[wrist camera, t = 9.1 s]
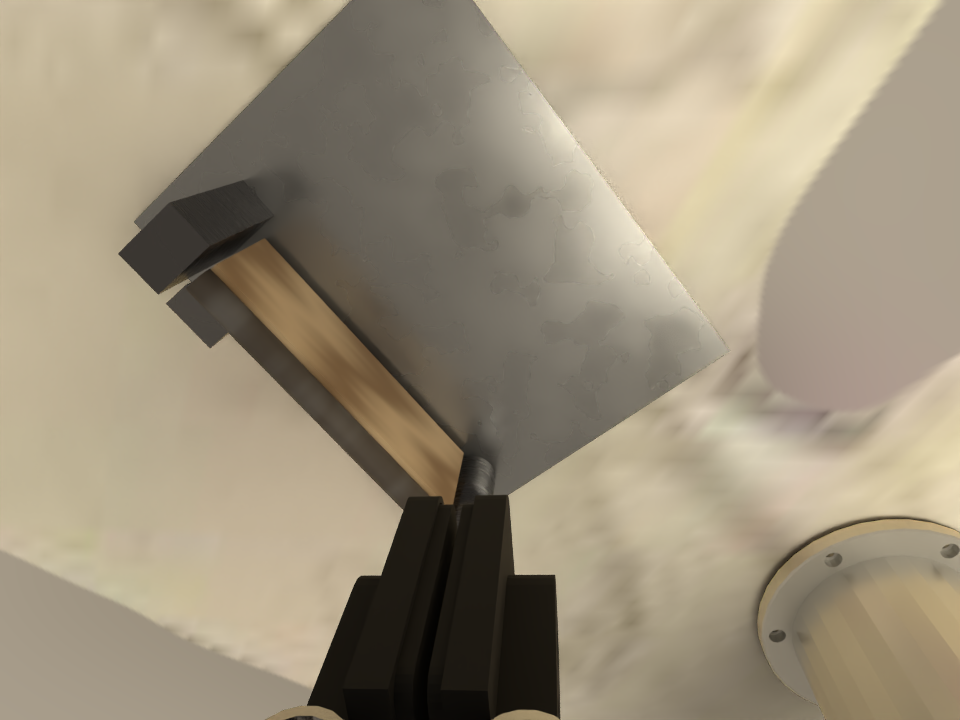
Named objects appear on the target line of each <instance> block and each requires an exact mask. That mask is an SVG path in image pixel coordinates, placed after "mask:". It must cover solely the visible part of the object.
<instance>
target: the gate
mask: <svg viewBox="0 0 960 720" xmlns="http://www.w3.org/2000/svg"><path fill="white" fill-rule="evenodd" d="M186 290H187V291H188V292H189V293H190V294H191V295H192V296H193V297H194V298H195V299H196V300H197V301H198V302H199V303H200V304H201V305H202V306H203V307H204V308H205V309H206V310H207V311H208V312H209V313H210V314H211V315H212V316H213V317H214V319H215V320H216V321H217V322H218V323H219V324H220V325H221V326H222V327H223V328H224V329H225V330H226V331H227V332H228V333H229V334H230V335H231V336H232V337H233V338H234V339H235V340H236V341H237V342H238V343H239V344H240V345H241V346H242V347H243V348H244V349H245V350H246V351H247V352H248V353H249V354H250V355H251V356H252V357H253V358H254V359H255V360H256V361H257V362H258V363H259V364H260V365H261V366H262V367H263V368H264V369H265V370H266V371H267V372H268V373H269V374H270V375H271V376H272V377H273V378H274V379H275V380H276V381H277V382H278V383H279V384H280V385H281V386H282V388H283V389H284V390H285V391H286V392H287V393H288V394H289V395H290V396H291V397H292V398H293V399H294V400H295V401H296V402H297V403H298V404H299V405H300V406H301V407H302V408H303V409H304V410H305V411H306V412H307V413H308V414H309V415H310V416H311V417H312V418H313V419H314V420H315V421H316V422H317V423H318V424H319V425H320V426H321V427H322V428H323V429H324V430H325V431H326V432H327V433H328V434H329V435H330V436H331V437H332V438H333V439H334V440H335V441H336V442H337V443H338V444H339V445H340V446H341V447H342V448H343V449H344V450H345V451H346V452H347V453H348V454H349V456H350V457H351V458H352V459H353V460H354V461H355V462H356V463H357V464H358V465H359V466H360V467H361V468H362V469H363V470H364V471H365V472H366V473H367V474H368V475H369V476H370V477H371V478H372V479H373V480H374V481H375V482H376V483H377V484H378V485H379V486H380V487H381V488H382V489H383V490H384V491H385V492H386V493H387V494H388V495H389V496H390V497H391V498H392V499H393V500H394V501H395V502H396V503H397V504H398V505H399V506H400V507H401V508H402V509H403V510H404V508H405V505H406V502H407V500H408V498H409V497H410V496H442V498H443V501H444V505H446V504H453V502H454V497H455V493H456V488H457V483H458V478H459V473H460V469H461V464H462V459H463V454H464V453H463V452H462V451H461V449H460V448H459V447H458V446H457V445H456V444H455V443H454V442H453V441H452V440H451V439H450V438H449V437H448V435H447V434H446V433H445V432H444V431H443V430H442V429H441V428H440V427H439V426H438V425H437V424H436V422H435V421H434V420H433V419H432V418H431V417H430V416H429V415H428V414H427V413H426V412H425V411H424V410H423V408H422V407H421V406H420V405H419V404H418V403H417V402H416V401H415V400H414V399H413V398H412V397H411V395H410V394H409V393H408V392H407V391H406V390H405V389H404V388H403V387H402V386H401V385H400V384H399V383H398V381H397V380H396V379H395V378H394V377H393V376H392V375H391V374H390V373H389V372H388V371H387V370H386V369H385V367H384V366H383V365H382V364H381V363H380V362H379V361H378V360H377V359H376V358H375V357H374V356H373V354H372V353H371V352H370V351H369V350H368V349H367V348H366V347H365V346H364V345H363V344H362V343H361V342H360V340H359V339H358V338H357V337H356V336H355V335H354V334H353V333H352V332H351V331H350V330H349V329H348V327H347V326H346V325H345V324H344V323H343V322H342V321H341V320H340V319H339V318H338V317H337V316H336V315H335V313H334V312H333V311H332V310H331V309H330V308H329V307H328V306H327V305H326V304H325V303H324V302H323V301H322V299H321V298H320V297H319V296H318V295H317V294H316V293H315V292H314V291H313V290H312V289H311V288H310V286H309V285H308V284H307V283H306V282H305V281H304V280H303V279H302V278H301V277H300V276H299V275H298V274H297V272H296V271H295V270H294V269H293V268H292V267H291V266H290V265H289V264H288V263H287V262H286V261H285V259H284V258H283V257H282V256H281V255H280V254H279V253H278V252H277V251H276V250H275V249H274V248H273V247H272V245H271V244H270V243H269V242H268V241H267V240H266V239H265V238H264V239H262V240H260V241H259V242H257V243H255V244H253V245H251V246H249V247H247V248H246V249H244V250H242V251H240V252H238V253H236V254H234V255H233V256H231V257H229V258H227V259H225V260H223V261H221V262H220V263H218V264H216V265H215V266H214V267H213V268H211V269H208V270H207V271H205V272H204V273H202V274H201V275H200V276H199V277H197V278H196V279H195V280H194V281H193V282H192V283H191V284H190V285H189V286H188V287H187V288H186Z"/></svg>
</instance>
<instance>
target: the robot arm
mask: <svg viewBox="0 0 960 720" xmlns="http://www.w3.org/2000/svg"><path fill="white" fill-rule="evenodd" d="M757 625H758V637H759V640H760V643H761V646H762V649H763V651H764V654H765V657H766V659H767V661H768V663H769V665H770V667H771V669H772V671H773V672H774V673H775V675H776V676H777V677H778V678H779V679H780V681H781V682H782V683H783V684H784V685H785V686H786V687H788V688H789V689H790V690H791V691H793V692H794V693H795V694H797V695H798V696H799V697H801V698H803V699H805V700H807V701H809V702H811V703H813V704H815V705H818V706H819V707H820V709H821V711H822V713H823V715H824V718H825V720H960V533H959V532H958V531H956V530H953V529H950V528H947V527H944V526H941V525H938V524H935V523H931V522H924V521H917V520H911V519H886V520H878V521H872V522H865V523H859V524H856V525H853V526H849V527H846V528H843V529H840V530H837V531H834V532H832V533H830V534H828V535H826V536H824V537H822V538H819V539H817V540H815V541H813V542H812V543H810V544H809V545H807V546H806V547H805V548H803V549H802V550H800V551H799V552H797V553H796V554H794V555H793V556H792V557H791V558H790V559H789V560H788V561H787V562H786V563H785V564H784V565H783V566H782V567H781V568H780V569H779V570H778V572H777V573H776V574H775V576H774V577H773V579H772V580H771V582H770V583H769V584H768V586H767V588H766V590H765V593H764V595H763V597H762V600H761V602H760V606H759V612H758V618H757ZM265 720H560V684H559V647H558V620H557V598H556V579H555V575H515V574H514V560H513V547H512V533H511V520H510V506H509V498H508V495H476V496H475V499H474V504H463V506H462V510H461V515H460V520H459V525H458V528H457V519H456V511H455V506H454V504H446V505H444V501H443V498H442V496H410V497H409V498H408V500H407V502H406V505H405V508H404V511H403V514H402V517H401V519H400V522H399V525H398V528H397V531H396V534H395V537H394V540H393V543H392V546H391V549H390V551H389V554H388V557H387V560H386V563H385V566H384V569H383V572H382V575H381V576H360V577H359V578H358V579H357V581H356V583H355V584H354V587H353V589H352V592H351V594H350V597H349V600H348V602H347V605H346V607H345V610H344V612H343V615H342V617H341V620H340V622H339V625H338V628H337V630H336V633H335V635H334V638H333V640H332V643H331V645H330V648H329V650H328V653H327V656H326V658H325V661H324V663H323V666H322V668H321V671H320V673H319V676H318V678H317V681H316V684H315V686H314V689H313V691H312V694H311V696H310V699H309V701H308V704H307V706H298V707H294V708H290V709H286V710H283V711H281V712H279V713H277V714H275V715H273V716H271V717H269V718H267V719H265Z"/></svg>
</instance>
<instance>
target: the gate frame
mask: <svg viewBox="0 0 960 720" xmlns="http://www.w3.org/2000/svg"><path fill="white" fill-rule="evenodd" d="M134 223H135V224H136V225H137V226H138V227H139V228H140V229H141V231H140V232H139V233H138V234H137V235H136V236H135V237H134V238H133V239H132V240H131V241H130V242H129V243H128V244H127V245H126V246H125V247H124V248H123V249H122V250H121V251H120V252H119V253H118V254H119V255H120V256H121V257H122V258H123V259H124V260H125V261H126V262H127V263H128V264H129V265H130V266H131V267H132V268H133V269H134V270H135V271H136V272H137V273H138V274H139V275H140V276H141V278H142V279H143V280H144V281H145V282H146V283H147V284H148V285H149V286H150V287H151V288H152V289H153V290H154V291H155V292H156V293H157V294H160V293H162V292H164V291H166V290H168V289H170V288H171V287H173V286H175V285H177V284H179V283H181V282H183V281H184V280H186V279H189V280H190V281H191V283H192V282H193V281H194V280H195V279H196V278H197V277H199V276H200V275H201V274H202V273H204V272H205V271H207V270H208V269H211V268H213V267H214V266H215V265H216V264H218V263H220V262H221V261H223V260H225V259H227V258H229V257H231V256H233V255H234V254H236V253H238V252H240V251H242V250H244V249H246V248H247V247H249V246H251V245H253V244H255V243H257V242H259V241H260V240H262V239H264V238H265V239H266V240H267V241H268V242H269V243H270V244H271V245H272V247H273V248H274V249H275V250H276V251H277V252H278V253H279V254H280V255H281V256H282V257H283V258H284V259H285V261H286V262H287V263H288V264H289V265H290V266H291V267H292V268H293V269H294V270H295V271H296V272H297V274H298V275H299V276H300V277H301V278H302V279H303V280H304V281H305V282H306V283H307V284H308V285H309V286H310V288H311V289H312V290H313V291H314V292H315V293H316V294H317V295H318V296H319V297H320V298H321V299H322V301H323V302H324V303H325V304H326V305H327V306H328V307H329V308H330V309H331V310H332V311H333V312H334V313H335V315H336V316H337V317H338V318H339V319H340V320H341V321H342V322H343V323H344V324H345V325H346V326H347V327H348V329H349V330H350V331H351V332H352V333H353V334H354V335H355V336H356V337H357V338H358V339H359V340H360V342H361V343H362V344H363V345H364V346H365V347H366V348H367V349H368V350H369V351H370V352H371V353H372V354H373V356H374V357H375V358H376V359H377V360H378V361H379V362H380V363H381V364H382V365H383V366H384V367H385V369H386V370H387V371H388V372H389V373H390V374H391V375H392V376H393V377H394V378H395V379H396V380H397V381H398V383H399V384H400V385H401V386H402V387H403V388H404V389H405V390H406V391H407V392H408V393H409V394H410V395H411V397H412V398H413V399H414V400H415V401H416V402H417V403H418V404H419V405H420V406H421V407H422V408H423V410H424V411H425V412H426V413H427V414H428V415H429V416H430V417H431V418H432V419H433V420H434V421H435V422H436V424H437V425H438V426H439V427H440V428H441V429H442V430H443V431H444V432H445V433H446V434H447V435H448V437H449V438H450V439H451V440H452V441H453V442H454V443H455V444H456V445H457V446H458V447H459V448H460V449H461V451H462V452H463V453H464V454H463V459H462V464H461V469H460V473H459V478H458V483H457V488H456V493H455V497H454V502H453V504H454V506H455V511H456V519H457V528H458V525H459V520H460V515H461V510H462V506H463V504H474V499H475V496H476V495H509V494H510V493H512V492H514V491H515V490H517V489H518V488H520V487H521V486H523V485H524V484H526V483H527V482H529V481H531V480H532V479H534V478H535V477H537V476H538V475H540V474H541V473H543V472H544V471H546V470H548V469H549V468H551V467H552V466H554V465H555V464H557V463H558V462H560V461H561V460H563V459H565V458H566V457H568V456H569V455H571V454H572V453H574V452H575V451H577V450H579V449H580V448H582V447H583V446H585V445H586V444H588V443H589V442H591V441H592V440H594V439H596V438H597V437H599V436H600V435H602V434H603V433H605V432H606V431H608V430H609V429H611V428H613V427H614V426H616V425H617V424H619V423H620V422H622V421H623V420H625V419H626V418H628V417H630V416H631V415H633V414H634V413H636V412H637V411H639V410H640V409H642V408H643V407H645V406H647V405H648V404H650V403H651V402H653V401H654V400H656V399H657V398H659V397H660V396H662V395H664V394H665V393H667V392H668V391H670V390H671V389H673V388H674V387H676V386H677V385H679V384H681V383H682V382H684V381H685V380H687V379H688V378H690V377H691V376H693V375H694V374H696V373H698V372H699V371H701V370H702V369H704V368H705V367H707V366H708V365H710V364H711V363H713V362H715V361H716V360H718V359H719V358H721V357H722V356H724V355H725V354H727V353H728V352H730V349H729V348H728V347H727V345H726V344H725V342H724V341H723V340H722V338H721V337H720V336H719V334H718V333H717V332H716V330H715V329H714V328H713V326H712V325H711V323H710V322H709V321H708V319H707V318H706V317H705V315H704V314H703V313H702V311H701V310H700V308H699V307H698V306H697V304H696V303H695V302H694V300H693V299H692V298H691V296H690V295H689V294H688V292H687V291H686V289H685V288H684V287H683V285H682V284H681V283H680V281H679V280H678V279H677V277H676V276H675V274H674V273H673V272H672V270H671V269H670V268H669V266H668V265H667V264H666V262H665V261H664V260H663V258H662V257H661V255H660V254H659V253H658V251H657V250H656V249H655V247H654V246H653V245H652V243H651V242H650V240H649V239H648V238H647V236H646V235H645V234H644V232H643V231H642V230H641V228H640V227H639V226H638V224H637V223H636V221H635V220H634V219H633V217H632V216H631V215H630V213H629V212H628V211H627V209H626V208H625V206H624V205H623V204H622V202H621V201H620V200H619V198H618V197H617V196H616V194H615V193H614V192H613V190H612V189H611V187H610V186H609V185H608V183H607V182H606V181H605V179H604V178H603V177H602V175H601V174H600V172H599V171H598V170H597V168H596V167H595V166H594V164H593V163H592V162H591V160H590V159H589V158H588V156H587V155H586V153H585V152H584V151H583V149H582V148H581V147H580V145H579V144H578V143H577V141H576V140H575V138H574V137H573V136H572V134H571V133H570V132H569V130H568V129H567V128H566V126H565V125H564V124H563V122H562V121H561V119H560V118H559V117H558V115H557V114H556V113H555V111H554V110H553V109H552V107H551V106H550V104H549V103H548V102H547V100H546V99H545V98H544V96H543V95H542V94H541V92H540V91H539V90H538V88H537V87H536V85H535V84H534V83H533V81H532V80H531V79H530V77H529V76H528V75H527V73H526V72H525V70H524V69H523V68H522V66H521V65H520V64H519V62H518V61H517V60H516V58H515V57H514V56H513V54H512V53H511V51H510V50H509V49H508V47H507V46H506V45H505V43H504V42H503V41H502V39H501V38H500V36H499V35H498V34H497V32H496V31H495V30H494V28H493V27H492V26H491V24H490V23H489V22H488V20H487V19H486V17H485V16H484V15H483V13H482V12H481V11H480V9H479V8H478V7H477V5H476V4H475V2H474V1H473V0H352V1H351V2H350V3H349V4H348V5H347V6H346V7H345V8H344V9H343V10H342V11H341V12H340V13H339V14H338V15H337V16H336V17H335V18H334V19H333V20H332V21H331V22H330V23H329V24H328V25H327V26H326V27H325V28H324V29H323V30H322V31H321V32H320V33H319V34H318V35H317V36H316V37H315V38H314V39H313V40H312V41H311V42H310V43H309V44H308V45H307V46H306V47H305V48H304V49H303V50H302V51H301V52H300V54H299V55H298V56H297V57H296V58H295V59H294V60H293V61H292V62H291V63H290V64H289V65H288V66H287V67H286V68H285V69H284V70H283V71H282V72H281V73H280V74H279V75H278V76H277V77H276V78H275V79H274V80H273V81H272V82H271V83H270V84H269V85H268V86H267V87H266V88H265V89H264V90H263V91H262V92H261V93H260V94H259V95H258V96H257V97H256V98H255V99H254V100H253V101H252V102H251V103H250V104H249V105H248V106H247V107H246V108H245V109H244V110H243V111H242V112H241V113H240V114H239V115H238V116H237V118H236V119H235V120H234V121H233V122H232V123H231V124H230V125H229V126H228V127H227V128H226V129H225V130H224V131H223V132H222V133H221V134H220V135H219V136H218V137H217V138H216V139H215V140H214V141H213V142H212V143H211V144H210V145H209V146H208V147H207V148H206V149H205V150H204V151H203V152H202V153H201V154H200V155H199V156H198V157H197V158H196V159H195V160H194V161H193V162H192V163H191V164H190V165H189V166H188V167H187V168H186V169H185V170H184V171H183V172H182V173H181V174H180V175H179V176H178V177H177V178H176V179H175V181H174V182H173V183H172V184H171V185H170V186H169V187H168V188H167V189H166V190H165V191H164V192H163V193H162V194H161V195H160V196H159V197H158V198H157V199H156V200H155V201H154V202H153V203H152V204H151V205H150V206H149V207H148V208H147V209H146V210H145V211H144V212H143V213H142V214H141V215H140V216H139V217H138V218H137V219H136V220H135V221H134ZM191 283H189V284H187V285H186V286H184V287H183V288H182V289H181V290H180V291H179V292H178V293H177V294H176V295H175V296H174V297H173V298H172V299H171V300H169V301H168V302H167V303H166V304H167V305H168V306H169V307H170V308H171V309H172V310H173V311H174V312H175V313H176V314H177V315H178V316H179V317H180V318H181V319H182V320H183V321H184V322H185V323H186V324H187V325H188V326H189V327H190V328H191V329H192V330H193V331H194V332H195V333H196V335H197V336H198V337H199V338H200V339H201V340H202V341H203V342H204V343H205V344H206V345H207V346H208V347H209V348H211V347H212V346H214V345H215V344H216V343H218V342H219V341H220V340H221V339H223V338H224V337H225V336H227V335H228V334H229V333H228V332H227V331H226V330H225V329H224V328H223V327H222V326H221V325H220V324H219V323H218V322H217V321H216V320H215V319H214V317H213V316H212V315H211V314H210V313H209V312H208V311H207V310H206V309H205V308H204V307H203V306H202V305H201V304H200V303H199V302H198V301H197V300H196V299H195V298H194V297H193V296H192V295H191V294H190V293H189V292H188V291H187V290H186V288H187V287H188V286H189V285H190V284H191Z"/></svg>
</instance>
